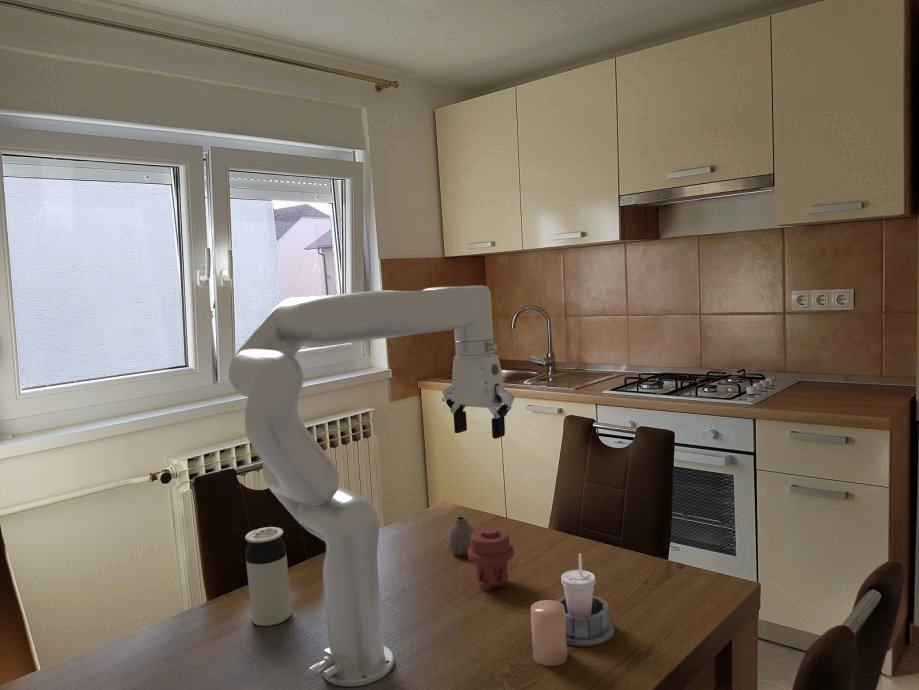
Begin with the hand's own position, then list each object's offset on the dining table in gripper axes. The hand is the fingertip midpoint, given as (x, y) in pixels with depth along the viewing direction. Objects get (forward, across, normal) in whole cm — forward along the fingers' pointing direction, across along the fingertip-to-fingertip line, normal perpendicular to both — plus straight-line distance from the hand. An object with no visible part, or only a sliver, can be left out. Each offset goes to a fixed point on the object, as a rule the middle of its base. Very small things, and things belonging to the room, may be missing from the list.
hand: (479, 434), depth 139 cm
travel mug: (+36, +35, +28) cm, 58 cm away
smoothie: (+36, -20, -3) cm, 41 cm away
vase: (+36, +23, -19) cm, 47 cm away
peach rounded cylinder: (+36, -20, +8) cm, 42 cm away
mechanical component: (+36, +6, -9) cm, 38 cm away
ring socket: (+36, -20, -3) cm, 41 cm away
